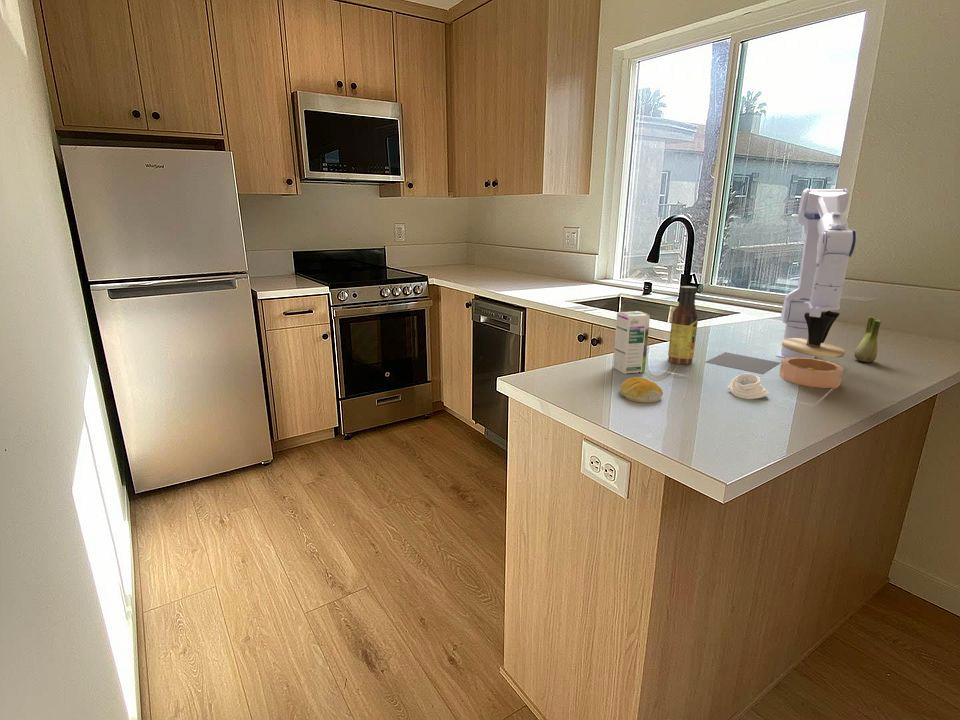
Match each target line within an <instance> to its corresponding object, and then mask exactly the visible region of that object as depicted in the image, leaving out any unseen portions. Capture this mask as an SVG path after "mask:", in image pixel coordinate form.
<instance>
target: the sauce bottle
mask: <svg viewBox="0 0 960 720" xmlns="http://www.w3.org/2000/svg"><path fill="white" fill-rule="evenodd" d="M697 290H698V288H697V286H691V285H684V286H683V285H681V286H679V299H678V300H679V301H678V304H677V307H676V308H675V309H674V310H673V312H672V319H671V320H672V321H671V324H670V335H669V342H668V343H669V345H668V359H667V360H668V362H670V363H671V364H675V365H683V366H684V365H685V366H687V365H691V364H692V363H693V359H694V357H695V355H694V354H695V348H696V340H697V339H696V338H697V331H698V323H699V321H698V320H699V316H698V312H697V308H696V305H695V303H696V294H697V292H698V291H697Z"/></svg>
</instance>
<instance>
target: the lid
mask: <svg viewBox="0 0 960 720" xmlns="http://www.w3.org/2000/svg"><path fill="white" fill-rule="evenodd" d="M782 345H783V346H784V347H785V348H787V349H790V350H792V351H795V352H799V353H802V354H807V355H812V356H816V357H817V358H818V357H819V358H829V359H836V358H838V359H839V358H843V357H844V356H845V353H846V350H845V349H843V348H841V347H839V346H837V345H836V344H832V343H829V342H825V341H824V343H821V344H820V345H819V346H817V345H811V344H809V339H801V338H787V339H784V340H783V339H782V342H781V346H782Z"/></svg>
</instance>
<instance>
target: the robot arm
mask: <svg viewBox="0 0 960 720" xmlns="http://www.w3.org/2000/svg"><path fill="white" fill-rule="evenodd" d="M849 199H850V192H849V190H848V188H840V189H839V188H834V189H833V188H827V189H826V188H823V189H821V188H816V189H815V188H805V189H804V190H803V191H802V193H801V196H800V199H799V206H798V215H797V220H798V221H797V223H798V224H799V225H801V226H803V227H804V240H803V248H802V255H801V263H800V269H799V276H798V277H799V278H798V283H797V288H796V289H794V290H792V291H790V292H788V293H787V294H786V295H785V296H784V299H783V300H784V301H783V304H782V308H781V313H780V320H781V321H782V323H784V324H785V326H784V327H785V329H784V333H783V338H782V341H783V340H784V339H787V338H801V339H809V344H811V345H817V346H819V345H820V344H821V343H824V342H825V341H826V339H827V337H828V334H829V332H830V329H831V328H832V327H833V324H834V322H835V321H836V320H837V318H839V316H840V314H841V313H840V312H836V311H838V310H840V309H841V305H840V303H841V299H842V295H843V294H842V293H843V289H844V285H845V280H846V274H847V269H848V264H849V259H850V258H851V257H853V255H854V253H855V250H856V246H857V241H858V240H857V239H858V238H857V237H858V234H857V230H856V229H850V228H849V223H848V219H847V217H846V216H845V214H844V213H845V212H846V210H847V208H848V203H849ZM775 357H778V358H782V359H785V358H790V357H803V358H813V359H816V357H817V356H812V355H807V354H802V353H799V352H795V351H792V350H790V349H787V348H785V347H784V346H783V345H782V344H781V349H780V352H778V353H777V354H775Z"/></svg>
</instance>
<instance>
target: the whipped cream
mask: <svg viewBox="0 0 960 720" xmlns="http://www.w3.org/2000/svg"><path fill="white" fill-rule="evenodd" d="M761 380H762V378H760V377H759V376H757V375H756V374H753V373H741V374H739V375H736V376H735V377H734V378H733V379H732V380H731V381H730V382H729V384H728V386H727V387H726V388H727V389H728V390H730V392H731V394H732V395H734V396H735V397H738V398H741V399H747V400H756V399H760V398H764V397H767V396H769V392H768V391H767V389H766V388H765V387H764V386H763V384H761Z"/></svg>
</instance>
